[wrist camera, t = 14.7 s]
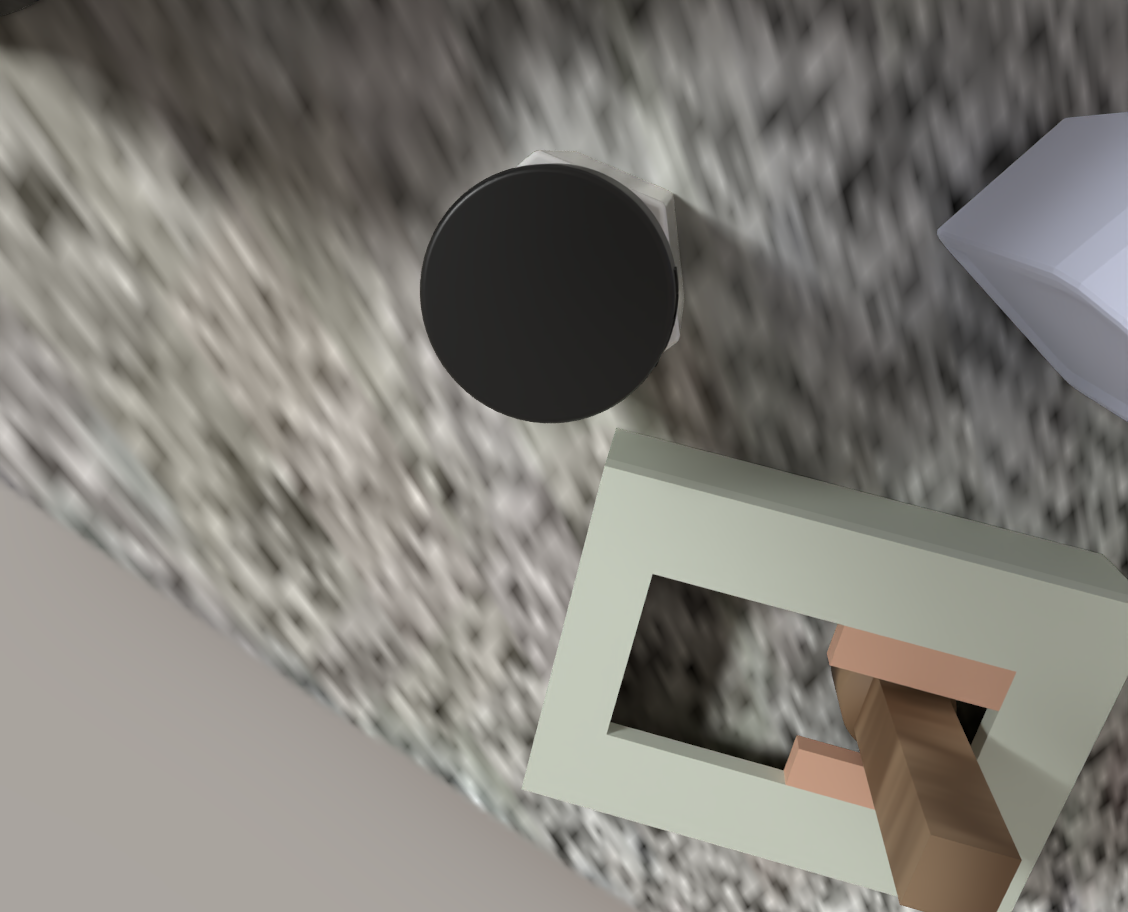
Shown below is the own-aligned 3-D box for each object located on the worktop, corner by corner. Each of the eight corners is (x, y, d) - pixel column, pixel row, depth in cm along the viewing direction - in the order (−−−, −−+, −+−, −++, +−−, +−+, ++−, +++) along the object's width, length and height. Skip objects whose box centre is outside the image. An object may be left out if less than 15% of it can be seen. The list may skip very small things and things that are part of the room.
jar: (565, 394, 43) (516, 481, 31) (451, 247, 41) (357, 283, 30) (730, 272, 40) (741, 319, 29) (613, 112, 39) (577, 95, 28)
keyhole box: (541, 720, 48) (521, 789, 43) (616, 427, 43) (604, 465, 38) (970, 840, 47) (1003, 927, 42) (1102, 554, 42) (1159, 611, 36)
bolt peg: (817, 695, 46) (865, 917, 32) (849, 608, 44) (913, 805, 31) (916, 722, 45) (1004, 957, 32) (952, 636, 44) (1060, 846, 30)
